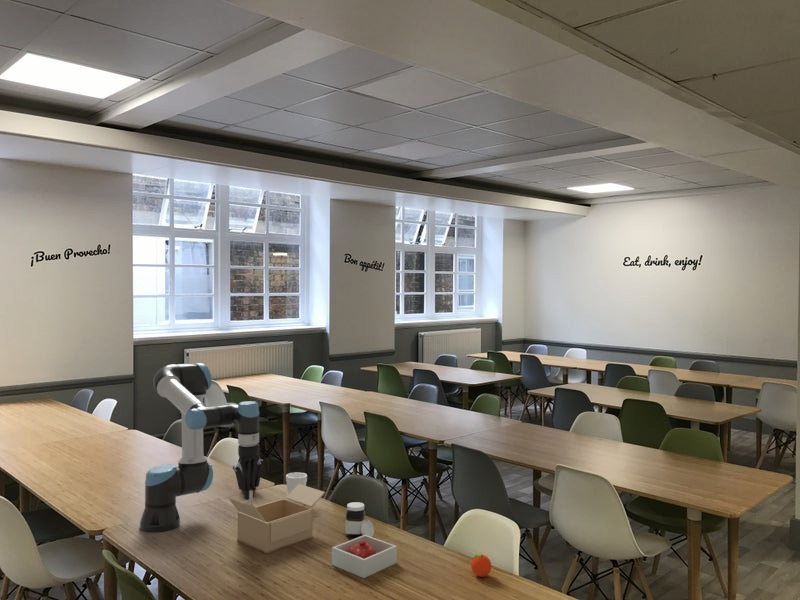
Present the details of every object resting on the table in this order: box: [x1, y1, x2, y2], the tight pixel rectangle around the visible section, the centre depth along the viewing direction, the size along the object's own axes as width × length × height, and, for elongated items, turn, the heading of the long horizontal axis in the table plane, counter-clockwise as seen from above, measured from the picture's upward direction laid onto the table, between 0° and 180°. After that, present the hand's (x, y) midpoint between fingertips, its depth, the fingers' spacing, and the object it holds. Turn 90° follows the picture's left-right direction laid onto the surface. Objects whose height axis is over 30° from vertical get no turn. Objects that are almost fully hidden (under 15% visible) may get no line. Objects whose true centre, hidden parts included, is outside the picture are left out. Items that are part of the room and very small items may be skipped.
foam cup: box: [285, 471, 308, 506], centre depth 282 cm, size 10×9×13 cm
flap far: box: [285, 484, 326, 508], centre depth 252 cm, size 8×16×1 cm, turn 50°
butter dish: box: [348, 540, 377, 559], centre depth 219 cm, size 12×12×8 cm
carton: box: [236, 498, 314, 554], centre depth 241 cm, size 22×19×11 cm
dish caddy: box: [331, 535, 398, 579], centre depth 220 cm, size 17×16×6 cm
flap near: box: [227, 496, 265, 522], centre depth 231 cm, size 8×16×1 cm
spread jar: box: [345, 501, 375, 538], centre depth 246 cm, size 12×11×12 cm
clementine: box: [470, 553, 492, 578], centre depth 212 cm, size 8×7×7 cm
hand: (249, 507), depth 231 cm, fingers closed
